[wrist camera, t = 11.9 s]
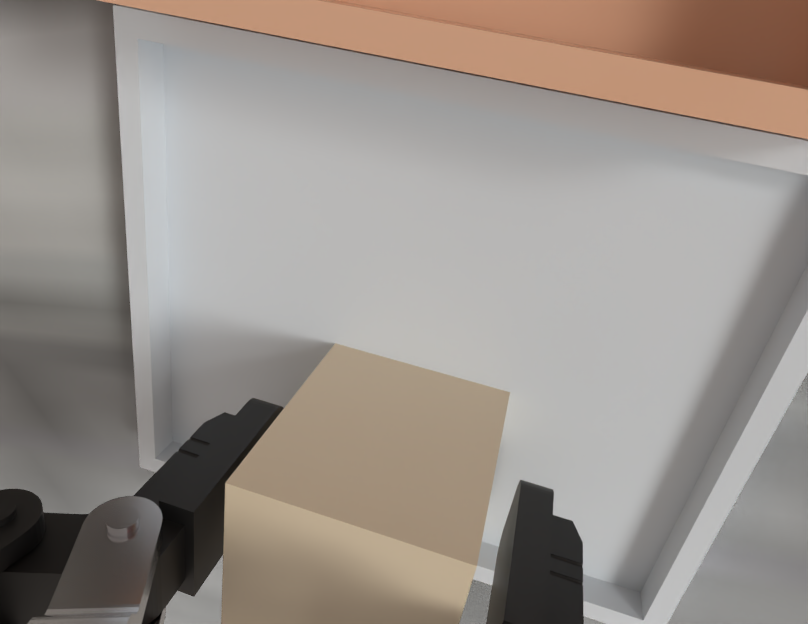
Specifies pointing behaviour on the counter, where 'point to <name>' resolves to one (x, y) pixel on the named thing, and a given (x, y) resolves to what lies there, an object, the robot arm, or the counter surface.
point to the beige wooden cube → (363, 498)
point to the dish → (570, 46)
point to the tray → (470, 273)
